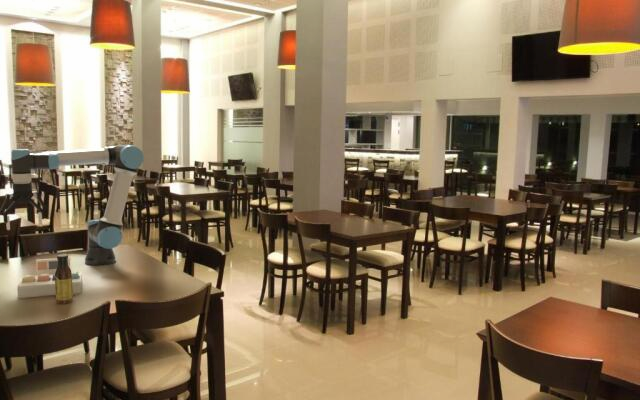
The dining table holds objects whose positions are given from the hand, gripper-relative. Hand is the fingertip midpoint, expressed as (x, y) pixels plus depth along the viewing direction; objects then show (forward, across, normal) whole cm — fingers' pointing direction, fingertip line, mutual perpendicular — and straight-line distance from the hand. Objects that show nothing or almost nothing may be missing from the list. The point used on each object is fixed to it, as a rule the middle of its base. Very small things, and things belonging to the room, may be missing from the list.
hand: (24, 227), depth 244 cm
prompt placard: (+24, -7, +15) cm, 29 cm away
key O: (+21, -5, +28) cm, 36 cm away
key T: (+21, +6, +24) cm, 32 cm away
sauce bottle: (+24, -1, +47) cm, 53 cm away
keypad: (+24, -2, +27) cm, 36 cm away
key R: (+21, -10, +30) cm, 38 cm away
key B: (+21, +1, +26) cm, 34 cm away
